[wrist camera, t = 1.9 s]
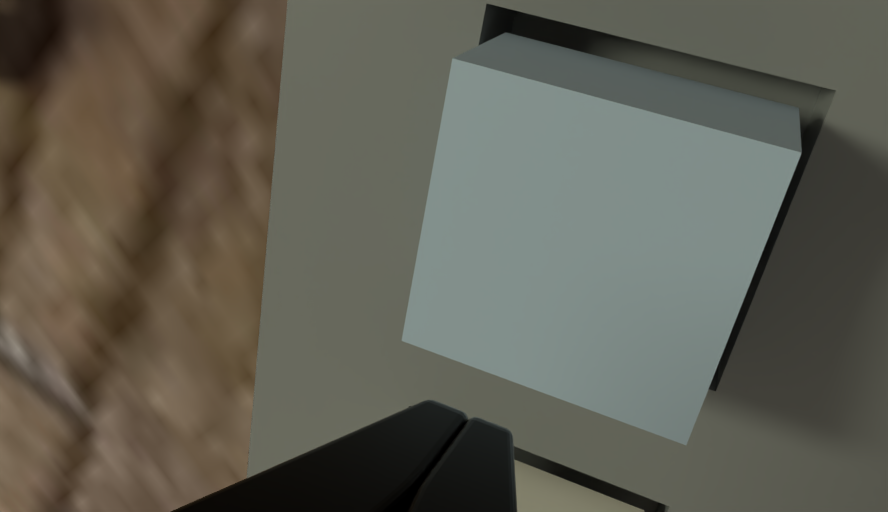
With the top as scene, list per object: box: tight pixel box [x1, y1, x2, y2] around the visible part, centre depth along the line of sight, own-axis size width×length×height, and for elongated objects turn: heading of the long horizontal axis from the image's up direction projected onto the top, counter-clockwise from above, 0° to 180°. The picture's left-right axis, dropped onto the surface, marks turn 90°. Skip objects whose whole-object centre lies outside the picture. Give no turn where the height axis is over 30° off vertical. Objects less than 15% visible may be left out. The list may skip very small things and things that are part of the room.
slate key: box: [402, 33, 802, 445], centre depth 13 cm, size 5×5×3 cm
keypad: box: [247, 0, 888, 512], centre depth 17 cm, size 13×18×3 cm
